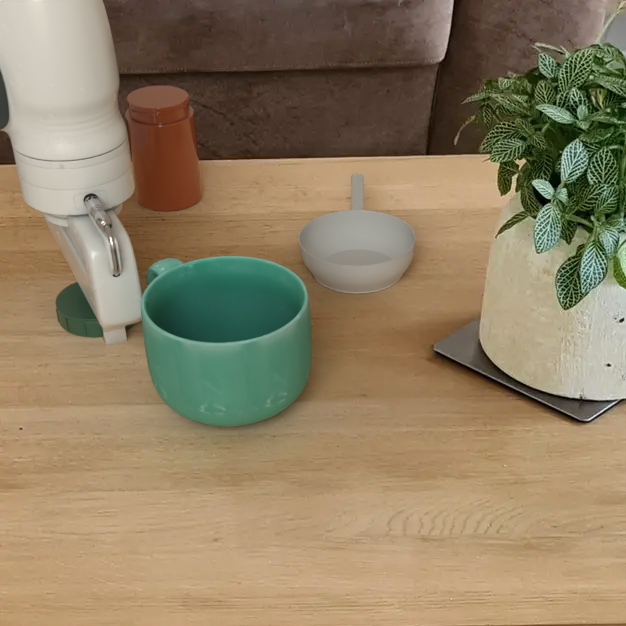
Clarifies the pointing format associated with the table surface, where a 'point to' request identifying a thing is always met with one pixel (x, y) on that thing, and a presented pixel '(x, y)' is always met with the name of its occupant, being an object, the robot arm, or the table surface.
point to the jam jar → (163, 148)
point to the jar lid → (77, 313)
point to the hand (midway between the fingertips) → (102, 319)
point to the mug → (226, 337)
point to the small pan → (357, 246)
